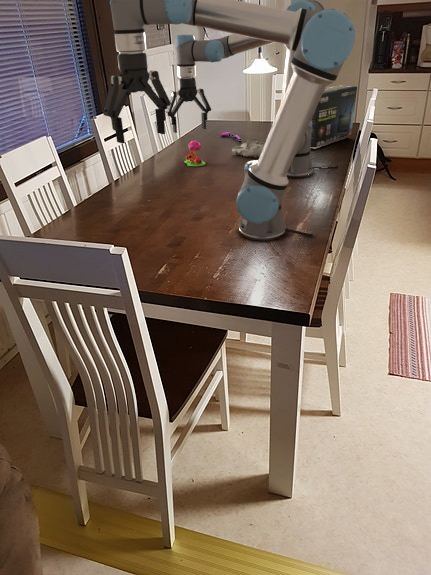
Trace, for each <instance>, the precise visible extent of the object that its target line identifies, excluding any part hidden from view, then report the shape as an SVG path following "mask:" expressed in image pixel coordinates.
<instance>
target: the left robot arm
mask: <svg viewBox="0 0 431 575" xmlns="http://www.w3.org/2000/svg"><path fill="white" fill-rule="evenodd" d="M109 5H110V10H111V17H112V24H113V32H114V41H115V49H116V52H118V54H117V63H118V69H119V75H110V76H109V87H108V91H107V96H106V99H105V104H104V107H103V112H102V114H103V116H105V117H109V118H110V121H111V126H112V130H113V131H115V138H116V142H117V143H118V144H122V145H123V144H125V143H126V142H125V140H126V139H125V134H124V126H123V118H122V117H120V114H121V113H122V111H123V109H124V107H125V104H126V103H127V101H128V98H129V96H130V95H131V94H132V93H133V94H134V93H138V92H141V93H143V92H144V93H145V94H146V96H147V97H148V98H149V99H150V100H151V102H152V103H153V104H154V105H155V106H156V107H157V108H155V110H154V112H155V121H156V122H155V123H156V130H157V134H159V135H166V125H165V122H166V120H167V117H166V116H167V115H166V110H167V108H168V106H170V105H171V102H170V98H169V96H168V94H167V92H166V90H165V87H164V85H163V84H162V81H161V79H160V75H159V71H158V70H150V71H148V68H149V61H148V54H147V52H145V51H146V50H147V43H146V31H145V26H151V25H176V26H177V25H182V24H183V25H188V26H192V27H199V28H204V29H209V30H213V31H218V32H223V33H228V34H231V35H232V34H237V35H242V36H247V37H252V38H257V39H261V40H266V41H271V42H275V43H276V44H280V45H281V44H282V45H284V44H286V45H289V47H290V49H291V50H293V51H296V52H295V54H294V57H293V59H292V62H291V65H292V68H293V76H292V78H291V81H290V83H289V86H288V88H287V91H286V93H285V95H284V98H283V100H282V103H281V102H280V106H279V108H278V110H277V112H276V115H275V117H274V120H273V123H272V125H271V127H270V130H269V133H268V135H267V137H266V140H265V145H264V147H263V150H262V152H261V154H260V156H259V157H258V159H256V160H250V161H247V162H245V164H244V169H243V172H244V179H243V182H242V185H241V187H240V189H239V192H238V193H237V195H236V199H235V203H236V204H235V205H236V210H237V212H238V214H239V215H240V217H241V220H240V222H239V226H238V232H239V235H240V236H241V237H242V238H244V239H247V240H250V241H254V242H271V241H277V240H279V239H281V238H283V237H285V235H286V234H287V232H288V233H292V234H296V235H301V236H305V237H309V238H311V237H312V238H313V237H314V233H308V232H304V231H300V230H295V229H291V228H287V223H286V221H285V216H284V214H283V210H282V200H283V196H284V194H285V192H286V189H287V187H288V185H289V181H290V180H289V178H288V177H287V176H286V174H287V172H288V169H289V167H290V165H291V163H292V161H293V158H294V156H295V154H296V152H297V150H298V147H299V145H300V143H301V141H302V138H303V136H304V134H305V132H306V130H307V127H308V125H309V123H310V121H311V118H312V116H313V114H314V112H315V110H316V107H317V105H318V103H319V101H320V99H321V96H322V94H323V92H324V90H325V88H327V86H329V85H332V84H334V83H335V82H336V80H337V79H338V76H339V75H340V72H341V70H342V67H343V65H344V64H345V61H346V60H348V58H349V56H350V55H351V53H352V52H353V49H354V46H355V42H356V30H355V26H354V23H353V22H352V20H351V18H350V17H349V16H348V14H347V13H345V12H343V11H341V10H339V9H336V8H324V10H308V9H302V8H300V9H299V10H298V11H296V12H293V11H288V10H286V9H283V8H279V7H272V6H267V5H263V4H257V3H253V2H248V1H241V0H109ZM149 80H150V81H151V84H152V85H151V84H150V82H149ZM120 85H121V88H120ZM152 86H153V87H152ZM153 88H154V90H155V91H154V90H153ZM118 92H119V94H118Z"/></svg>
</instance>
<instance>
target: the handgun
mask: <svg viewBox="0 0 431 575" xmlns="http://www.w3.org/2000/svg"><path fill="white" fill-rule="evenodd" d="M230 132H231V133H232V132H233V131H230ZM228 133H229V132H221V136H222V137H230V136H229V135H222V134H228ZM235 136H236V137H237V138H238V139H239V140H241V139H242V138H241V137H240V136H239V135H237V134H236V135H235ZM231 137H232V138H233V139H236V138H235V137H233V136H231ZM238 142H239V143H242V142H243V140H242V141H238Z"/></svg>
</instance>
